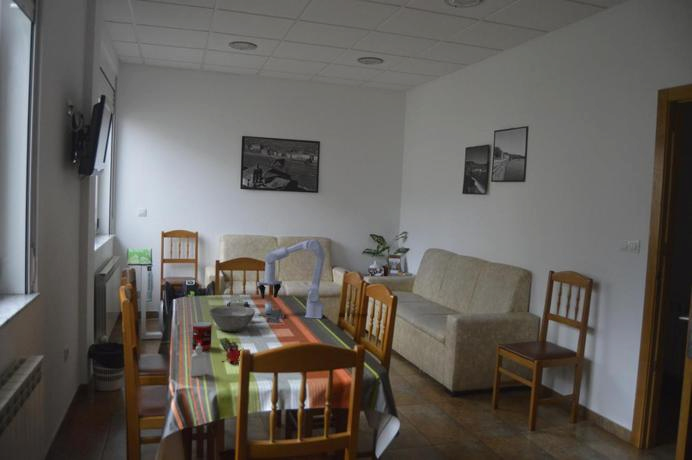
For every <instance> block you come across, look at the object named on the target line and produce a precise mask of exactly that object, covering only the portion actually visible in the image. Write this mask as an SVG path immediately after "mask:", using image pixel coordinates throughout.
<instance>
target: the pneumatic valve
mask: <svg viewBox="0 0 692 460" xmlns="http://www.w3.org/2000/svg"><path fill="white" fill-rule="evenodd" d="M226 306H241V307H248V308H251V304H250V303H249V302H248V301H244V300H240V299H237V300H230V301H229V302H227V303H226Z"/></svg>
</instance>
